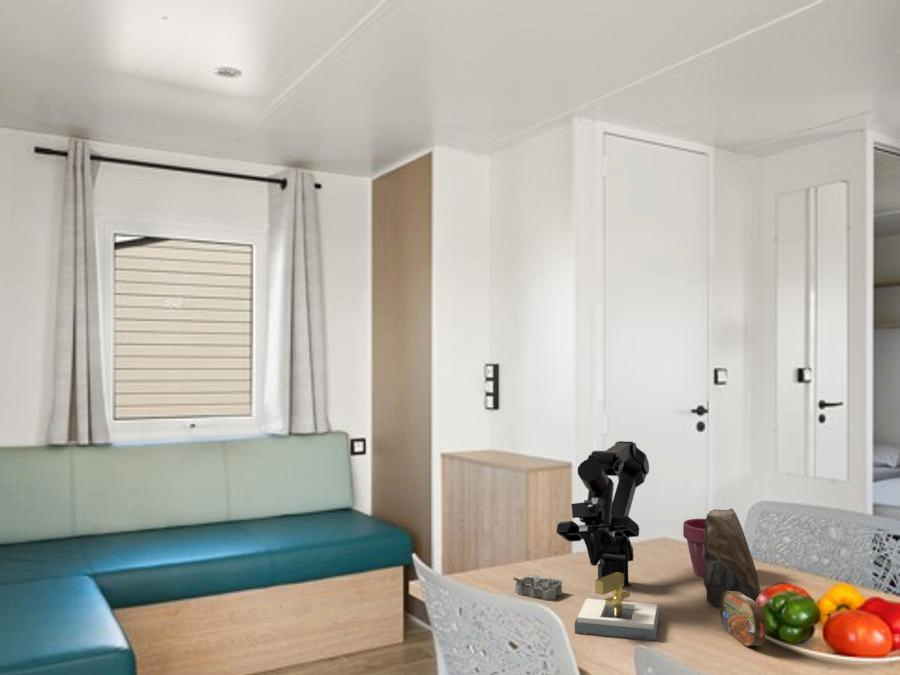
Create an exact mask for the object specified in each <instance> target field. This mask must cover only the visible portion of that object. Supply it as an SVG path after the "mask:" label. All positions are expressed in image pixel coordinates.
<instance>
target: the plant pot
mask: <svg viewBox="0 0 900 675" xmlns="http://www.w3.org/2000/svg"><path fill="white" fill-rule="evenodd" d="M705 520H706V518H691V519H686V520H684V522H683V525H682V526H683V528H682V529H683V530H682V533H683V538H685V540H686V542H687V547H688V551H689V555H690V556H689V557H690V561H691V564H692V569H693V573H694V574H695V575H696V576H699V577H702V578H704V573H705V571H706V565H705V558H704V552H705V549H704V548H705V547H704V544H705V531H704V528H705V525H704V522H705Z"/></svg>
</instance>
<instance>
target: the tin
mask: <svg viewBox="0 0 900 675" xmlns="http://www.w3.org/2000/svg"><path fill="white" fill-rule="evenodd" d="M719 613H720V619H721V624H722V626H723V628H724V630H725V632H726V633H727V634H729V636H731V637H733V638H734V639H736V641H738V642H739V643H740V644H742V645H743V646H744V647H759V646H760V647H761V646H762V645H763V644H764V643H765V641H766V634H767V619H766V614H765V611H764V610H763V608H762V607H761V606H760V605H759V604H758V603H757V602H755V601H754V600H752V599H750V598H749V597H747V596H745V595H744V594H742V593H741V592H737V591H725V592H724V593H723V595H722V597H721V602H720V608H719Z"/></svg>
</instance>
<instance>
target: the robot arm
mask: <svg viewBox="0 0 900 675" xmlns="http://www.w3.org/2000/svg"><path fill="white" fill-rule="evenodd" d="M587 457H588V458H586V459H585V460H583V461H582V462H580V464H579V466H578V467H577V475H578V477H579V479H580V480H581V482H582V484H583V485H584V487H585V489H587V490H588V492H587V499H584V501H583V502H573V503H571V504H570V505H571V514H572V515H571V516H572V517H571V518H572V519H575V518H578V519H579V522H581V523H584V524H578V523H576V522H574V521H573V520H567V521H560V522H559V523H557V525H556V531H555V533H556V534H557V535H559V536H560V537H562V538H563V539H564V540H566V541H568V542H570V543H571V542H581V541H582V540H583V542H584V544H585V546H586V550H587V554H588V558H589V562H590V566H592V567H596V566H597V579H600V578H602V577H605V576H607V575H610V574H613V573H615V572H618V573H623V574H624V586H623V587H632V583H631V582H630V581H629V562H633V561H634V548H633V545H632V542H631V540H630V538H634V537H635V538H637V537H639V535H640V527H639V524H638V523H637V522H636V521H635V520H633V519H632V518H631V517H630V516H629V515H630V511H631V507H632V503H633V500H634V497H635V493H636V489H637V488H638V487H639V486H641V485H642V484H644V483H645V481H646V478H647V475H649V472H650V464H649V460H648V457H647V454H646V453H645V452H644V451H642V450H641V449H639V448H638V447H637V443H636V442H633V441H626V440H625V441H624V440H620V441H619V440H618V441H616V442H615V443H614V444H613V445H612V446H611V447H609V448H608V449H607V450H606V449H605V450H593V451H592V452H591V453H590V454H588V456H587ZM610 476H611V477H617V480H618V483H617V485H616V489H615V487H614V486H615V483H614V481H613V480H612V479H611V477H610ZM614 490H615V491H614Z"/></svg>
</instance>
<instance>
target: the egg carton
mask: <svg viewBox="0 0 900 675" xmlns="http://www.w3.org/2000/svg"><path fill="white" fill-rule="evenodd" d="M513 580H514V581H515V593H516V594H517V595H518V596H525V595H526V596H527V595H528V596H529V598H542V597H543V598H542V600H544V599H548V600H555V599H556V596H555V595H561V596H562V595H563V593H562V592H563V590H562V589H563V588H562V586H563V585H562V584H563V582H564V579H554V578H551V577H548V578H547V577H540V576H539V575H536V574H532V575H528V576H526V577H525V576H524V577H523V578H522V577H521V578H520V579H519V578H518V577H513ZM554 598H555V599H554Z"/></svg>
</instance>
